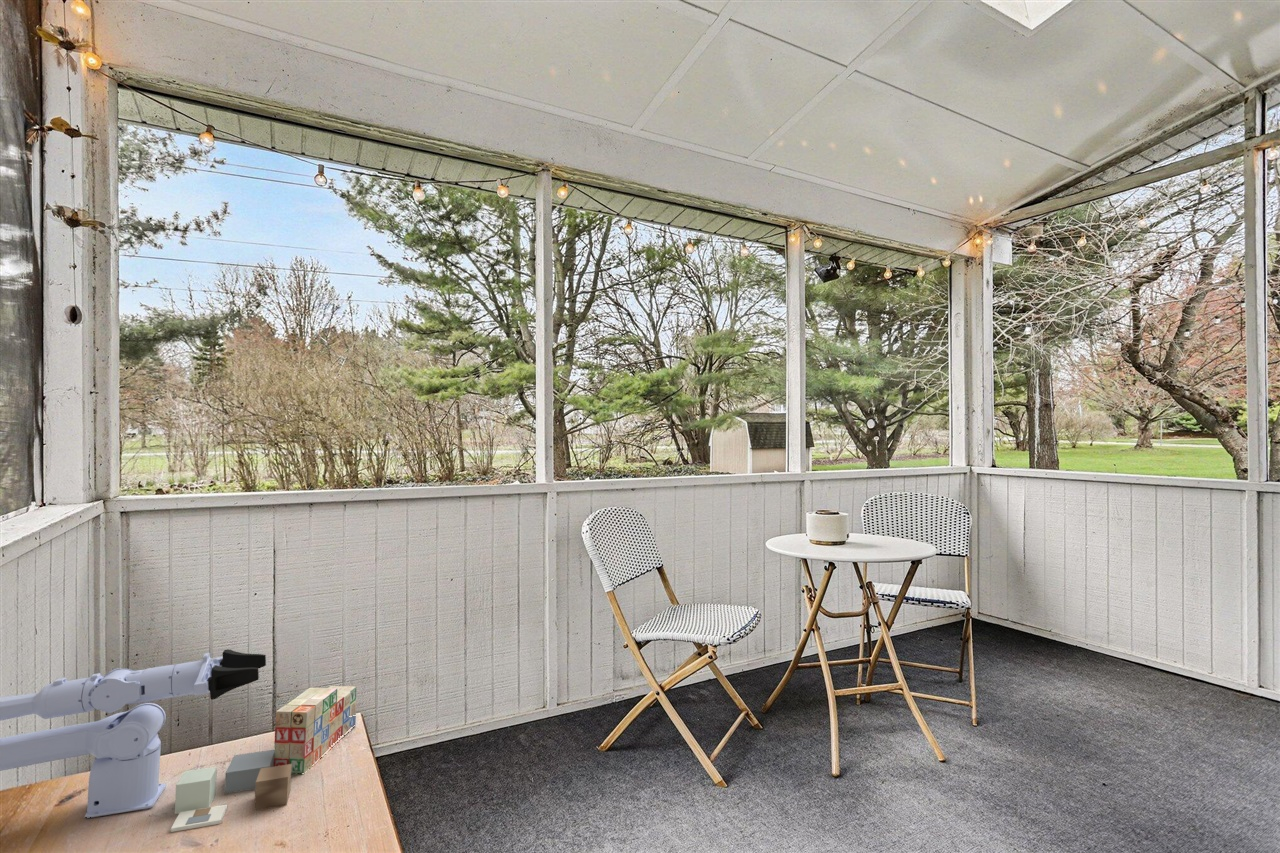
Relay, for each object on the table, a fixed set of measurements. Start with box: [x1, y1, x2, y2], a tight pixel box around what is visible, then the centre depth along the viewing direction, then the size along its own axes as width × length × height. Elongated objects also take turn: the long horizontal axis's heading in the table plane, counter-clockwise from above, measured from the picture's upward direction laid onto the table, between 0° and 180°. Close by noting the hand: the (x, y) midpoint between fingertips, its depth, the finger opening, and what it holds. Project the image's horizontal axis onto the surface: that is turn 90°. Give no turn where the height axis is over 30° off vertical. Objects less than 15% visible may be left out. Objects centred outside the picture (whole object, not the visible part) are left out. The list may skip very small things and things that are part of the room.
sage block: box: [174, 765, 218, 815], centre depth 111 cm, size 5×5×5 cm
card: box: [170, 803, 228, 833], centre depth 106 cm, size 7×5×1 cm
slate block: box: [224, 749, 275, 794], centre depth 119 cm, size 7×7×4 cm
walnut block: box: [253, 764, 292, 811], centre depth 112 cm, size 5×5×5 cm
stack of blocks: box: [274, 685, 357, 775], centre depth 132 cm, size 21×6×12 cm, turn 179°
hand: (262, 666), depth 119 cm, fingers open, 7 cm apart
